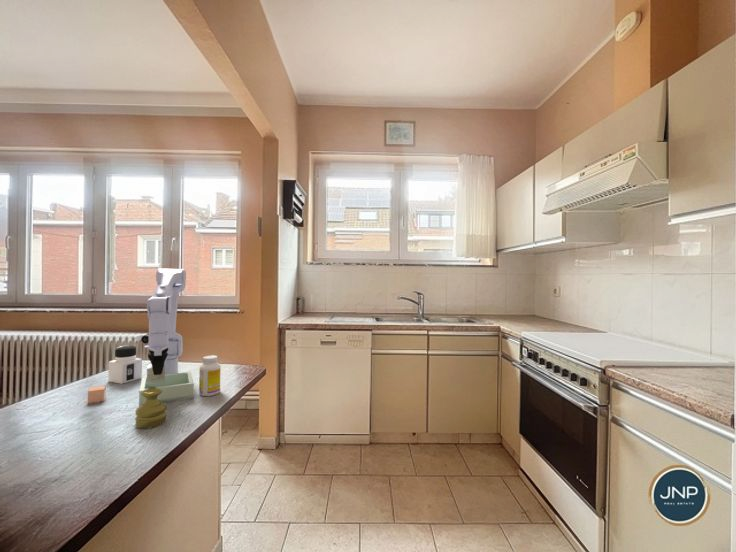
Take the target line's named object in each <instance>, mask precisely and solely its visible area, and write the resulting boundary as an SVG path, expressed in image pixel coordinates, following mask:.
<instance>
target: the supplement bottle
mask: <svg viewBox="0 0 736 552" xmlns="http://www.w3.org/2000/svg"><path fill="white" fill-rule="evenodd" d="M202 362H203V363H202V364H200V366H199V378H198V379H199V380H198V381H199V382H198V383H199V387H198V388H199V389H198V393H199V395H200V396H201V397H212V396H216V395H218V394H220V391H221V364H220V363H218V355H212V354H211V355H206V356H203V357H202Z"/></svg>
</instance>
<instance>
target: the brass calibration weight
mask: <svg viewBox="0 0 736 552" xmlns="http://www.w3.org/2000/svg"><path fill="white" fill-rule="evenodd" d="M161 393H162V389H160V388H156V387H149V388H148V389H146V390H144V391H143V392H142V393H141V395H142V396H144V397H145V398H146V401H145V402H144V403H143V404H142V405H141V406H139V405H138V407H137V408H136V409H135V416H136V417H135V428H138V429H152V428H156V427H159V426H161V425H163V424H164V423H165V422H166V421H167V409H168V406H167V404H166V403H163V402H161V401H160V400H158V399H157V397H158V395H159V394H161Z"/></svg>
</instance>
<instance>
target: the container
mask: <svg viewBox="0 0 736 552" xmlns="http://www.w3.org/2000/svg"><path fill="white" fill-rule="evenodd" d="M107 370H108V373H107V374H108V376H107V377H108V380H107V381H108V382H109V383H115V384H121V385H123V383H124V384H126V383H130V382H134V381H136V380H140V379H142V377H143V376H142V375H143V359H142V358H139V357H137V347H136V346H134V345H129V344H128V345H121V346H118V347H116V348H115V349H114V359H113V360H109V361H108V369H107Z"/></svg>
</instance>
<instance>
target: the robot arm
mask: <svg viewBox="0 0 736 552" xmlns="http://www.w3.org/2000/svg"><path fill="white" fill-rule="evenodd" d="M186 280H187V272H186V269H185V268H160V267H158V269H157V270H156V274H155V281H156V285H157V286H156V287H155V289H154V292H153V295H152V296H151V297H150V298H147V302H146V312H147V319H148V345H144V348H143V349H148V352H149V353H147V357H148V359H149V361H150V363H151V364H152V368H153V373H154V375H160V374H162V371H163V366H164V363H165V375H167V374H175V373H179V357H180V356H182V354H183V350H184V349H183V347H184V346H183V345H184V344H183V343H184V342H183V336H182V335H181V334H179V333H178V332H176V328H177V314H178V303H179V301H178V300H179V295H180V293H181V292H183V291H185V288H186V282H187V281H186ZM151 364H150V365H151Z"/></svg>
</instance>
